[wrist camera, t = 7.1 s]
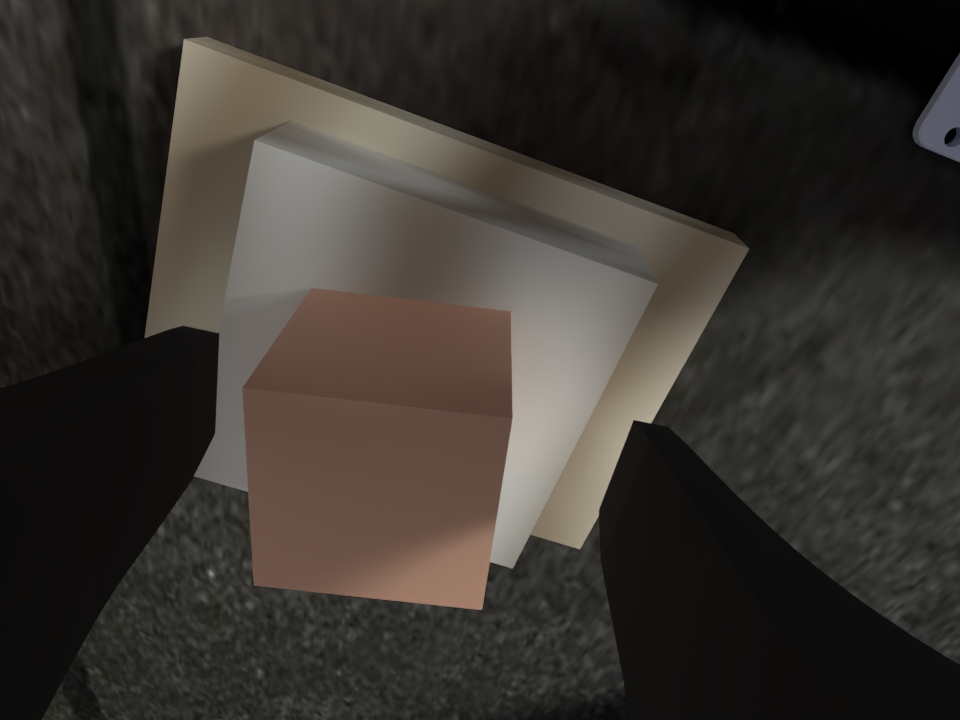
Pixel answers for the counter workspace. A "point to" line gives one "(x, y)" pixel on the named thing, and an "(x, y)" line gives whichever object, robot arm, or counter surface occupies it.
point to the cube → (379, 448)
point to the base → (279, 90)
